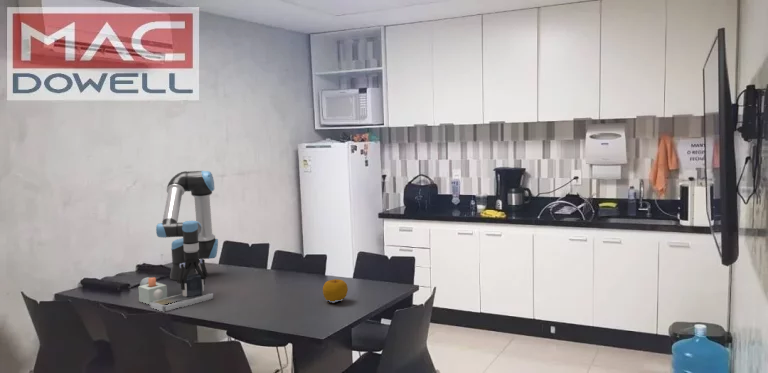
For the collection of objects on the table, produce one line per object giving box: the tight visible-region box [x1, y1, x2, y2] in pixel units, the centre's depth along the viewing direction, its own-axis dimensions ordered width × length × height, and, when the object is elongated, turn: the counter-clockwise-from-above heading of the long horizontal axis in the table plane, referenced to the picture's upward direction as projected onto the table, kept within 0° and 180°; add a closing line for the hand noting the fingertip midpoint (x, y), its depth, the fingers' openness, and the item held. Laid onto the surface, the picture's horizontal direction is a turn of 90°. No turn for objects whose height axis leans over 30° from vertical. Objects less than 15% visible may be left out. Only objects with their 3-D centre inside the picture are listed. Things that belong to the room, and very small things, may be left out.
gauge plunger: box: [148, 276, 157, 287], centre depth 300 cm, size 4×4×7 cm
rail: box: [149, 292, 214, 313], centre depth 296 cm, size 28×12×3 cm, turn 141°
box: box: [185, 273, 203, 299], centre depth 300 cm, size 8×6×11 cm
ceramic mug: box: [139, 276, 151, 286], centre depth 317 cm, size 11×8×8 cm
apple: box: [322, 278, 349, 301], centre depth 293 cm, size 13×13×11 cm
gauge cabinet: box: [137, 281, 168, 306], centre depth 300 cm, size 10×10×8 cm
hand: (193, 293), depth 301 cm, fingers closed on box, 9 cm apart
